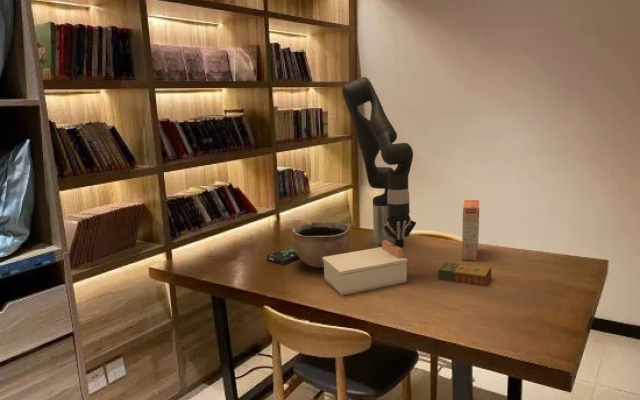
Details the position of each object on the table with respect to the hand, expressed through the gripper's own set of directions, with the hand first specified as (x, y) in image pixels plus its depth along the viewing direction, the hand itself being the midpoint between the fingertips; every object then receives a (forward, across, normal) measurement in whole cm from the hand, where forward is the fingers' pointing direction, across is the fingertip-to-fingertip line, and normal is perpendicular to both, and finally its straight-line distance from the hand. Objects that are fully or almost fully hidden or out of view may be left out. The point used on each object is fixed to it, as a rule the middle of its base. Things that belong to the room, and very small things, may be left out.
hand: (399, 248), depth 167 cm
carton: (+10, -17, +14) cm, 24 cm away
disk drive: (+10, +31, -37) cm, 49 cm away
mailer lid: (+2, +14, 0) cm, 14 cm away
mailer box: (+10, +14, 0) cm, 17 cm away
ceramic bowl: (+10, +21, -23) cm, 33 cm away
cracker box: (+10, -34, -5) cm, 36 cm away
